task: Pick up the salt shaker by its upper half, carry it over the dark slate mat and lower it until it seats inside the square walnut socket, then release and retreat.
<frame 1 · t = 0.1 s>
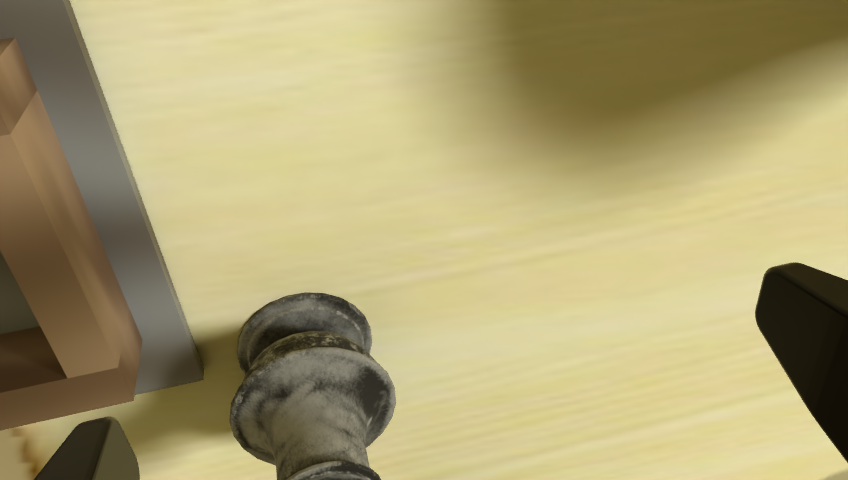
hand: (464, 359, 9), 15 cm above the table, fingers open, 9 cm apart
salt shaker: (305, 342, 28), on the table
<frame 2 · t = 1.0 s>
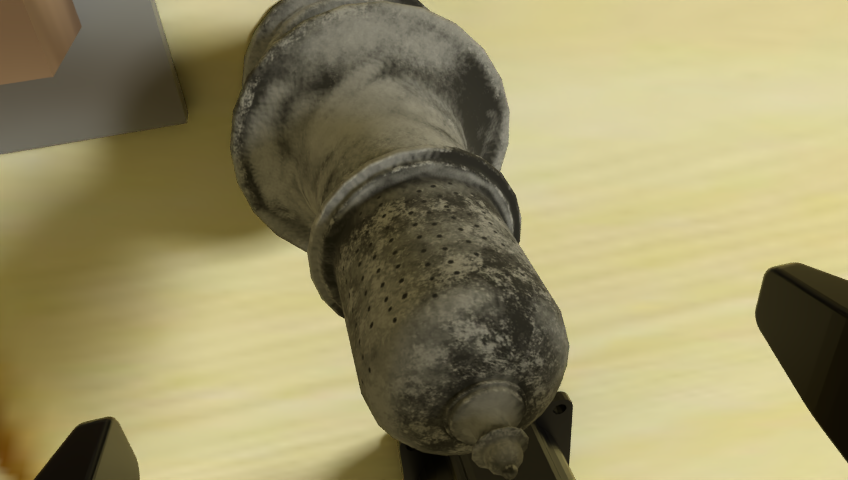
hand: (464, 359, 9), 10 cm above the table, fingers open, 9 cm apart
salt shaker: (349, 82, 17), on the table
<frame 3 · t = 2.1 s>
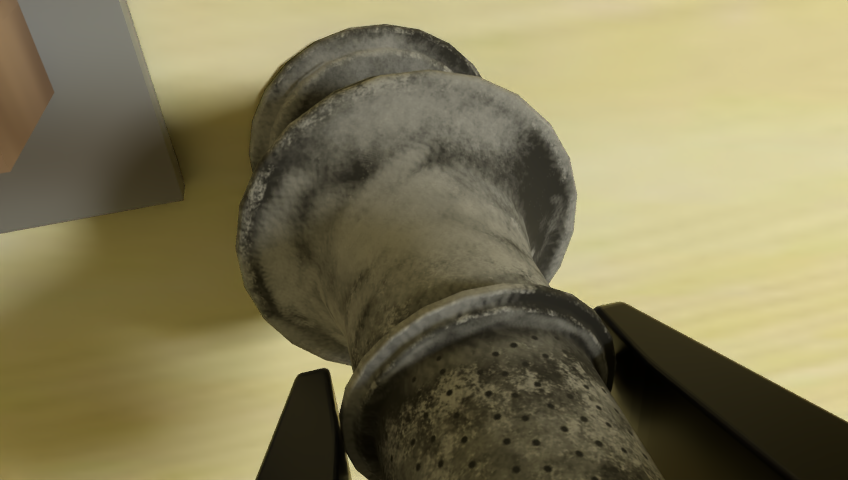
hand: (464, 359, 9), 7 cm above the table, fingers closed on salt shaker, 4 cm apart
salt shaker: (376, 146, 15), on the table, touching gripper
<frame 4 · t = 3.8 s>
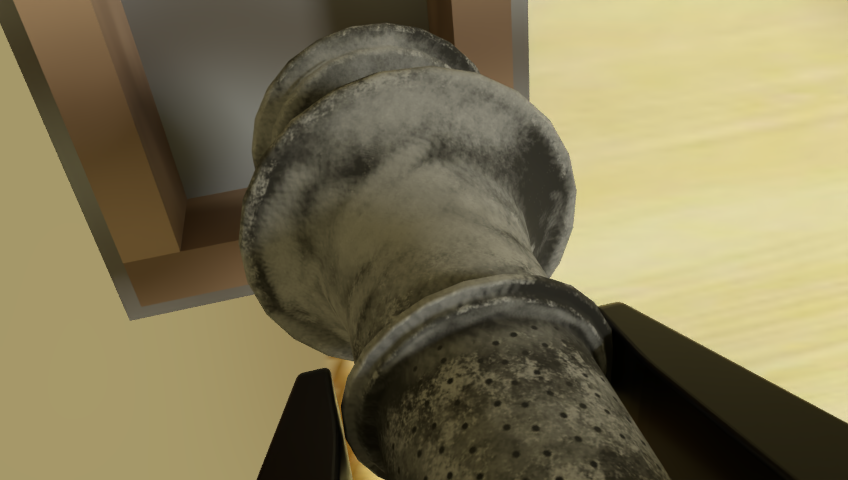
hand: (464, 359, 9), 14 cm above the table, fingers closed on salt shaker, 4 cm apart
socket: (289, 42, 20), on the table
salt shaker: (377, 144, 15), point 7 cm above the table, touching gripper
when the fingers open (8 cm above the table, at t = 5.4 s): salt shaker drops 1 cm, resting on socket.
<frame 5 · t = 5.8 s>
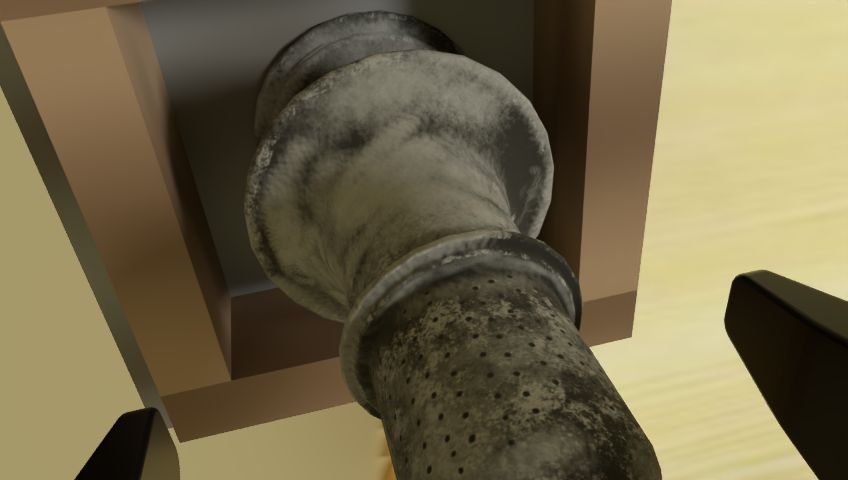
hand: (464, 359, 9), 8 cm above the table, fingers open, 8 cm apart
socket: (362, 114, 16), on the table
salt shaker: (371, 124, 16), resting on socket
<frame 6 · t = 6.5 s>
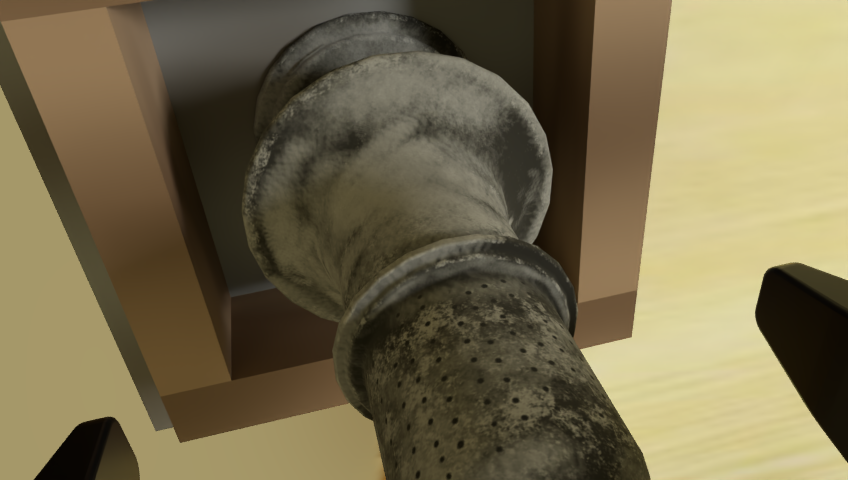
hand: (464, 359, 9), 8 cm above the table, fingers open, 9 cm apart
socket: (362, 114, 16), on the table
salt shaker: (371, 124, 16), resting on socket
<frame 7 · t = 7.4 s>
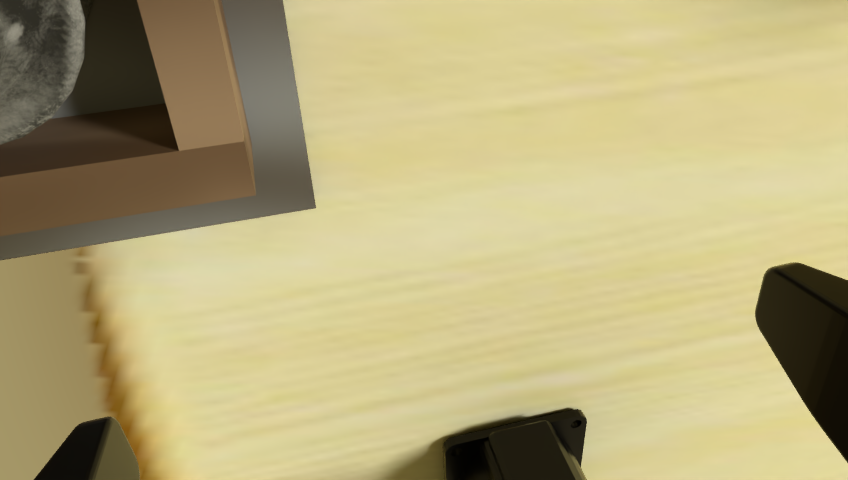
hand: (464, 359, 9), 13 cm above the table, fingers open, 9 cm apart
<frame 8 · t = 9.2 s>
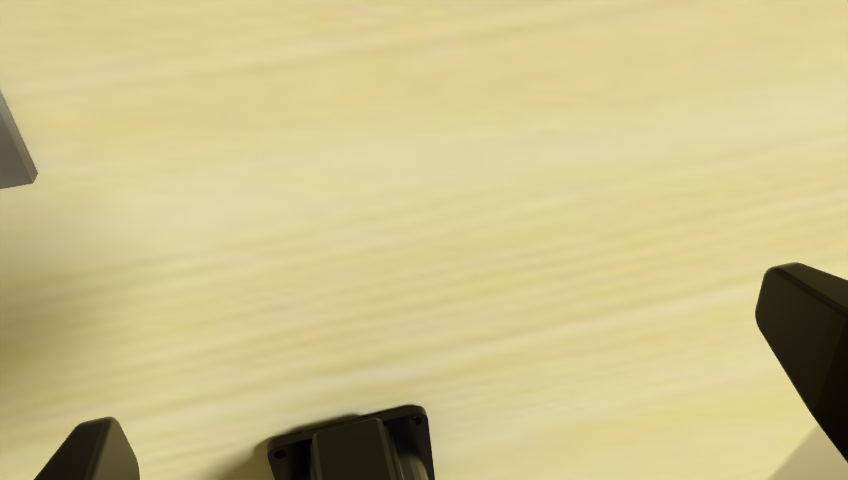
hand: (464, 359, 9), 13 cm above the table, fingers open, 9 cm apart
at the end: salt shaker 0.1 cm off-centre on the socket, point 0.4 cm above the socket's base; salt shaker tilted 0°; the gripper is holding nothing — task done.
